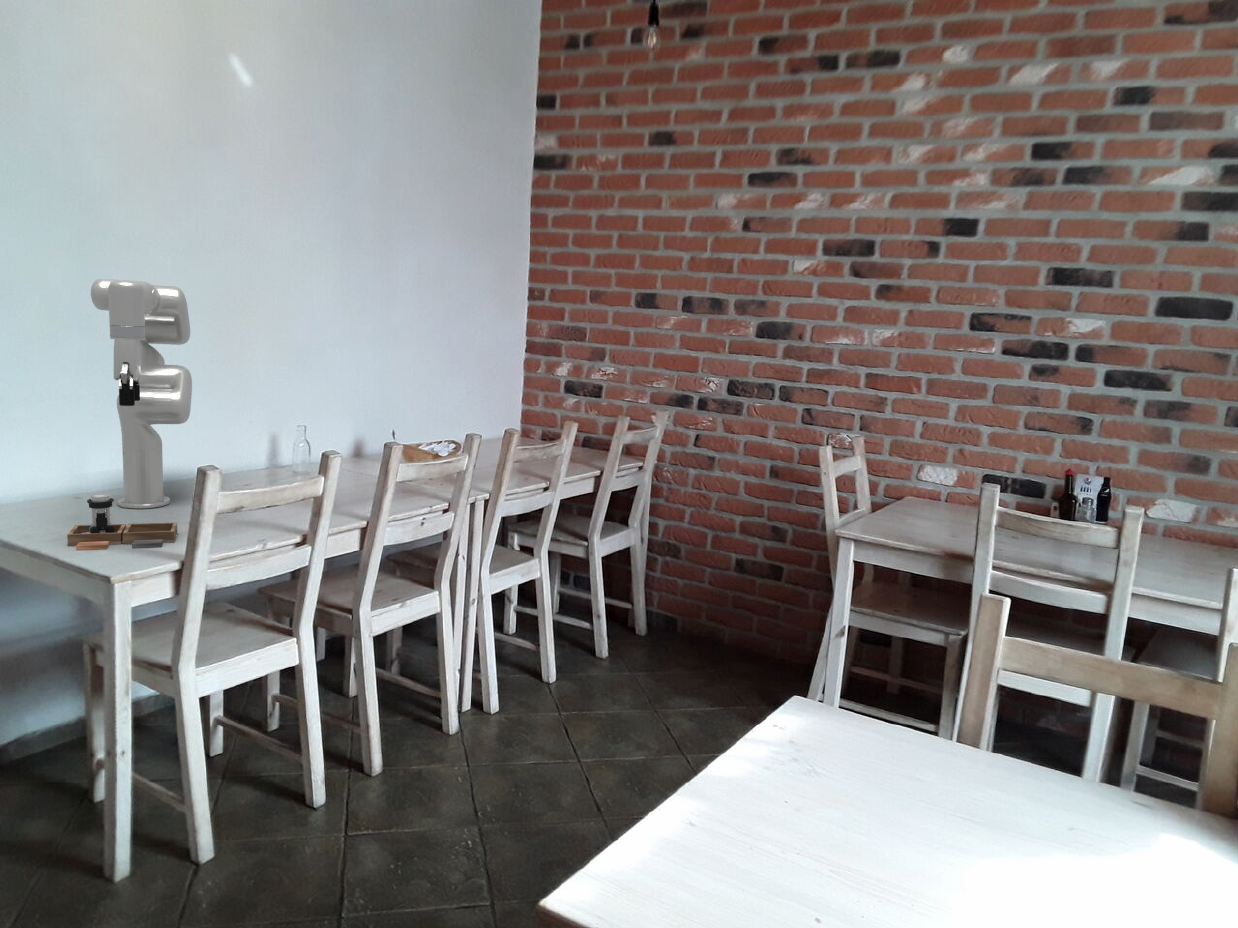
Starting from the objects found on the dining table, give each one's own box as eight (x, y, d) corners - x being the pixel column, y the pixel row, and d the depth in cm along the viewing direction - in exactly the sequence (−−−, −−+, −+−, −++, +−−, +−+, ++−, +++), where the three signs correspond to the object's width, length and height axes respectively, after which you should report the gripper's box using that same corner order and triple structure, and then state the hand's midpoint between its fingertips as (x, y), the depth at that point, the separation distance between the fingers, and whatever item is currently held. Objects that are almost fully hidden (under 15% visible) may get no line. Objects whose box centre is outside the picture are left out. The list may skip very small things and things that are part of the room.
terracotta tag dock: (75, 535, 206) (74, 525, 205) (126, 534, 210) (126, 523, 209) (64, 550, 195) (63, 539, 194) (118, 548, 199) (118, 537, 198)
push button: (85, 542, 199) (83, 499, 198) (79, 537, 203) (77, 495, 201) (117, 538, 204) (116, 497, 202) (111, 533, 208) (110, 492, 206)
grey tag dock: (128, 534, 210) (127, 523, 210) (177, 532, 214) (177, 522, 213) (120, 548, 199) (120, 537, 198) (172, 546, 203) (172, 535, 202)
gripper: (115, 330, 219) (118, 398, 222) (103, 334, 203) (106, 407, 206) (149, 332, 221) (151, 399, 224) (140, 336, 206) (142, 408, 209)
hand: (130, 403), depth 215 cm, fingers open, 9 cm apart
